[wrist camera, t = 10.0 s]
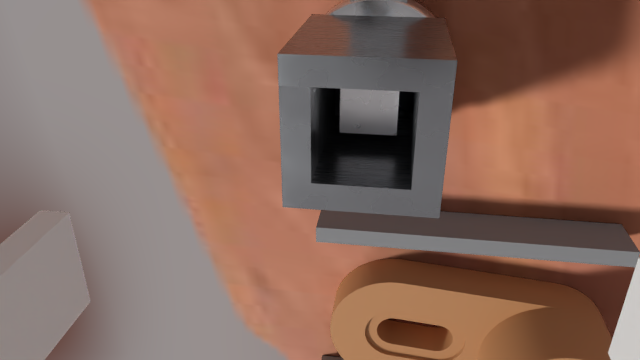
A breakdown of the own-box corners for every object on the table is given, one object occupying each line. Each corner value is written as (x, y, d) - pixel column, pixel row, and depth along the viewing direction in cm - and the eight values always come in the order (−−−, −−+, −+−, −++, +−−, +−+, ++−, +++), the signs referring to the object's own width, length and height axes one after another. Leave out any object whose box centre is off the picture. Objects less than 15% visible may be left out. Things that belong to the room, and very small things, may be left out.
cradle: (323, 202, 35) (316, 227, 33) (621, 224, 33) (640, 252, 30) (322, 365, 42) (316, 396, 39) (572, 392, 39) (584, 428, 37)
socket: (312, 135, 30) (282, 207, 23) (312, 14, 27) (277, 53, 20) (432, 141, 29) (439, 218, 22) (444, 17, 26) (457, 60, 19)
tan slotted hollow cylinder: (619, 291, 35) (664, 373, 29) (580, 383, 39) (612, 473, 33) (341, 248, 37) (328, 317, 31) (329, 341, 41) (316, 419, 35)
